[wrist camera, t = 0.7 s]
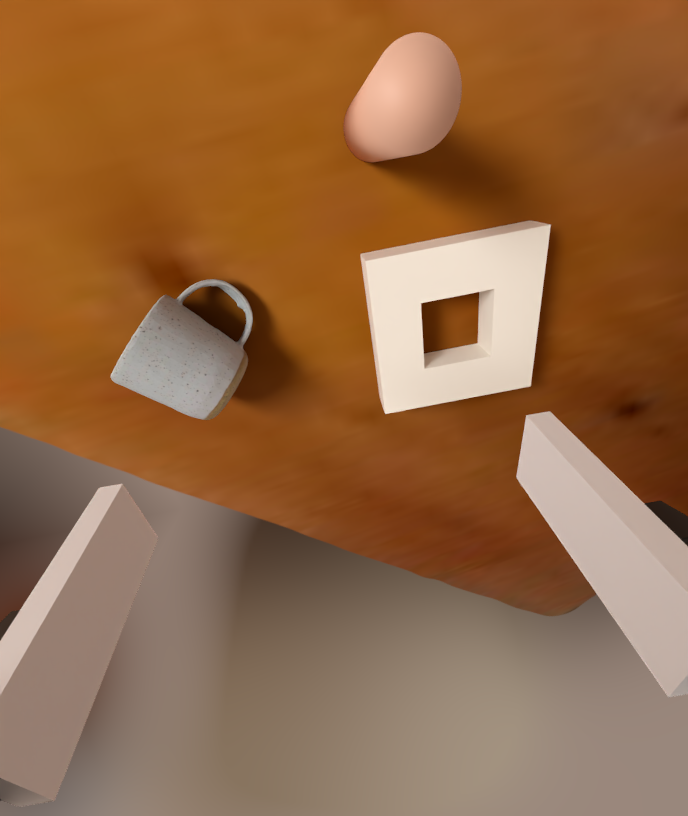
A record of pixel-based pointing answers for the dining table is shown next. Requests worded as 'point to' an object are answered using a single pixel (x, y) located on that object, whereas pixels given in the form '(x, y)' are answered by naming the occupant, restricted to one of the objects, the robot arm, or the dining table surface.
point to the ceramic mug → (185, 356)
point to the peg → (405, 100)
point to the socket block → (448, 277)
